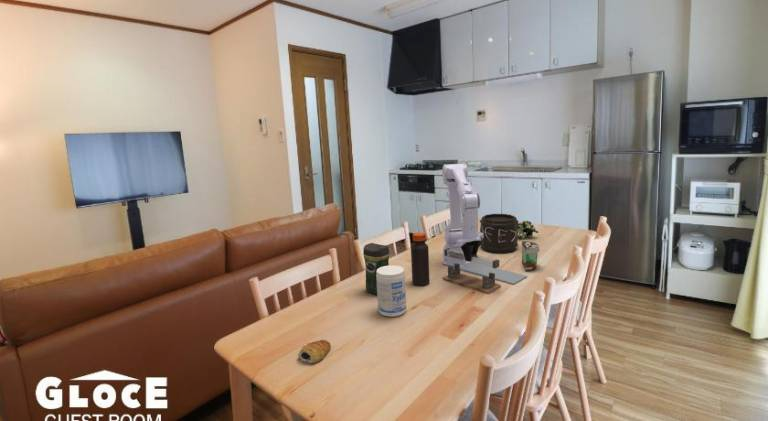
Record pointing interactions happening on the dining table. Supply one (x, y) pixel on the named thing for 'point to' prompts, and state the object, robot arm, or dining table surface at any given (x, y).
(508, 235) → the wooden barrel
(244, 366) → the dining table surface
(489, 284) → the wooden stand
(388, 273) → the supplement tub
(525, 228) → the green leafy bush
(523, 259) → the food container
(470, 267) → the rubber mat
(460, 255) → the steel rail
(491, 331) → the dining table surface
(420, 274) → the vinegar
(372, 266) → the coffee jar
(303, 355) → the pastry
